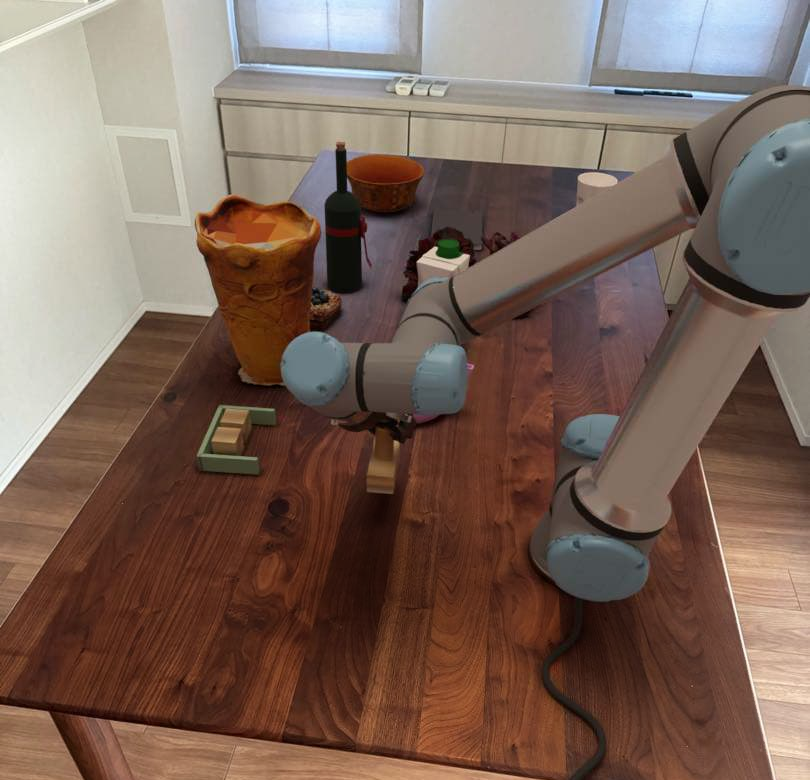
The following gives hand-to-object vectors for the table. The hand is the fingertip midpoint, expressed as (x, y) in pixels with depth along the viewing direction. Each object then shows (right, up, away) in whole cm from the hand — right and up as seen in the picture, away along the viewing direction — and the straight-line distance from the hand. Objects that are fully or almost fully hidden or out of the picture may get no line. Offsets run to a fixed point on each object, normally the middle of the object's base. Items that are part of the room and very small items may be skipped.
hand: (393, 432), depth 121 cm
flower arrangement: (+17, +38, +55) cm, 69 cm away
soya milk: (+8, +23, +40) cm, 47 cm away
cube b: (-27, +2, +16) cm, 31 cm away
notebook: (+15, +62, +80) cm, 102 cm away
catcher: (-26, 0, +13) cm, 30 cm away
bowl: (-4, +73, +91) cm, 116 cm away
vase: (-24, +15, +30) cm, 41 cm away
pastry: (-18, +31, +47) cm, 59 cm away
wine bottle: (-11, +41, +57) cm, 71 cm away
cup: (+51, +69, +89) cm, 123 cm away
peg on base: (-1, -6, +1) cm, 6 cm away
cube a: (-28, -2, +12) cm, 30 cm away
